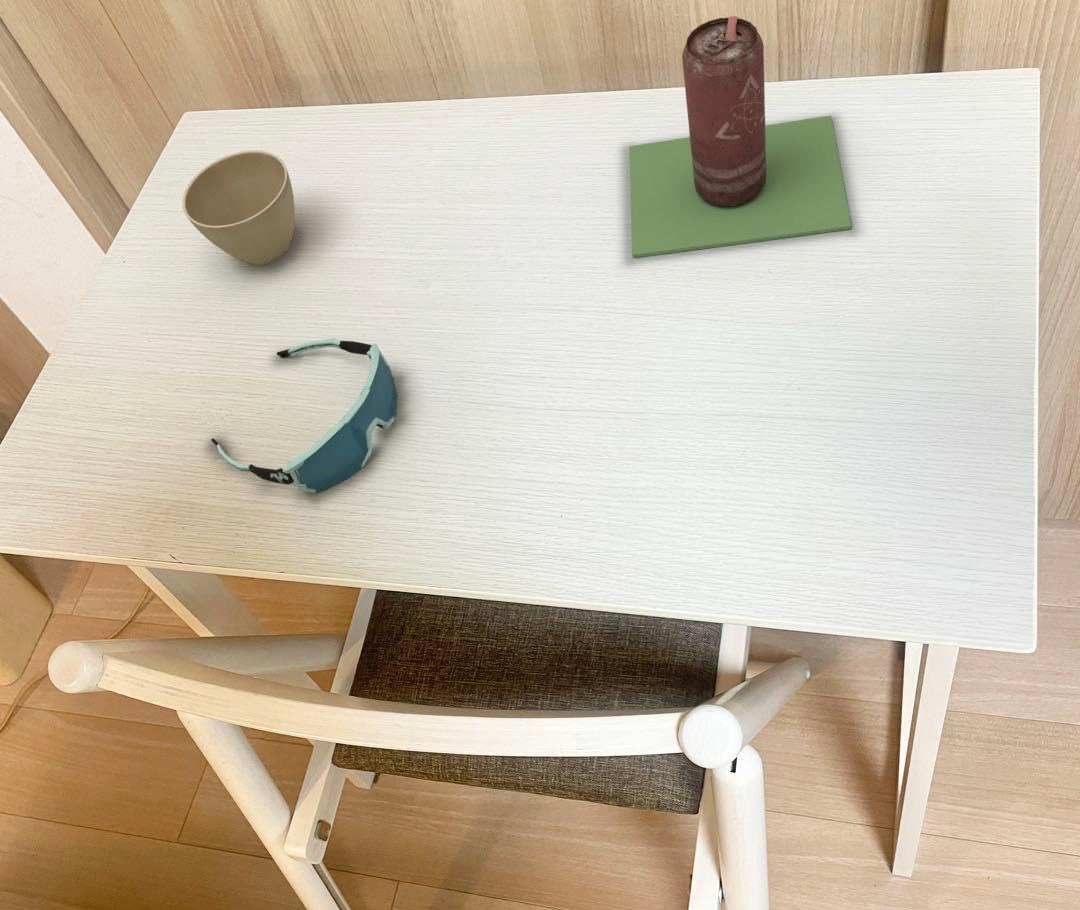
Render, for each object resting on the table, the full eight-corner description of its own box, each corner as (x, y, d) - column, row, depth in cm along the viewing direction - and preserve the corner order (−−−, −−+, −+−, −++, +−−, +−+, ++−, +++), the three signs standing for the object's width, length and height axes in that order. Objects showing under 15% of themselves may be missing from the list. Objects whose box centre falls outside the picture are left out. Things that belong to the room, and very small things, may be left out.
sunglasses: (340, 515, 80) (309, 477, 76) (212, 475, 87) (177, 438, 84) (431, 379, 85) (406, 337, 81) (303, 353, 93) (274, 313, 89)
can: (770, 159, 90) (767, 8, 78) (761, 210, 87) (757, 62, 75) (701, 159, 92) (688, 12, 80) (690, 210, 89) (675, 65, 77)
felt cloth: (830, 119, 92) (831, 115, 91) (851, 229, 85) (851, 225, 84) (630, 149, 95) (629, 146, 95) (633, 258, 88) (632, 254, 88)
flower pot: (236, 301, 95) (199, 243, 89) (206, 241, 101) (169, 183, 95) (331, 251, 96) (301, 190, 90) (297, 195, 102) (266, 134, 96)
